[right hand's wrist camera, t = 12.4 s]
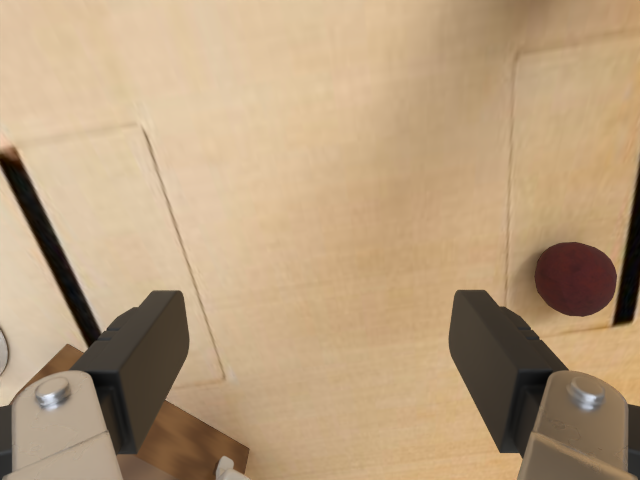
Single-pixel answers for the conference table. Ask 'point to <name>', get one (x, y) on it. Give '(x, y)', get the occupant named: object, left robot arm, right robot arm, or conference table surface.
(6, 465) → the right robot arm
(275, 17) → the conference table surface
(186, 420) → the bar
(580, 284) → the potato
